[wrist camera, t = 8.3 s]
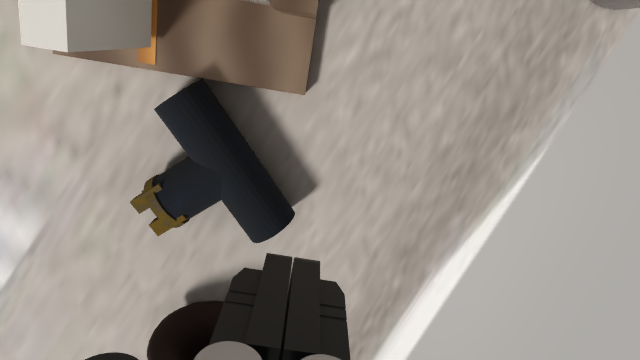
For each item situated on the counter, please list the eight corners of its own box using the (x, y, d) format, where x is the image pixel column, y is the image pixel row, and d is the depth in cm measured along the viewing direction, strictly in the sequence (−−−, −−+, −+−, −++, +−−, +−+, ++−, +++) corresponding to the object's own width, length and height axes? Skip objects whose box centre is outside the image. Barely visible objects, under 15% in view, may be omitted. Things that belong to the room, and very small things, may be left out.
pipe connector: (192, 283, 39) (84, 153, 34) (205, 255, 44) (113, 139, 39) (293, 225, 37) (194, 81, 33) (295, 203, 42) (209, 76, 38)
